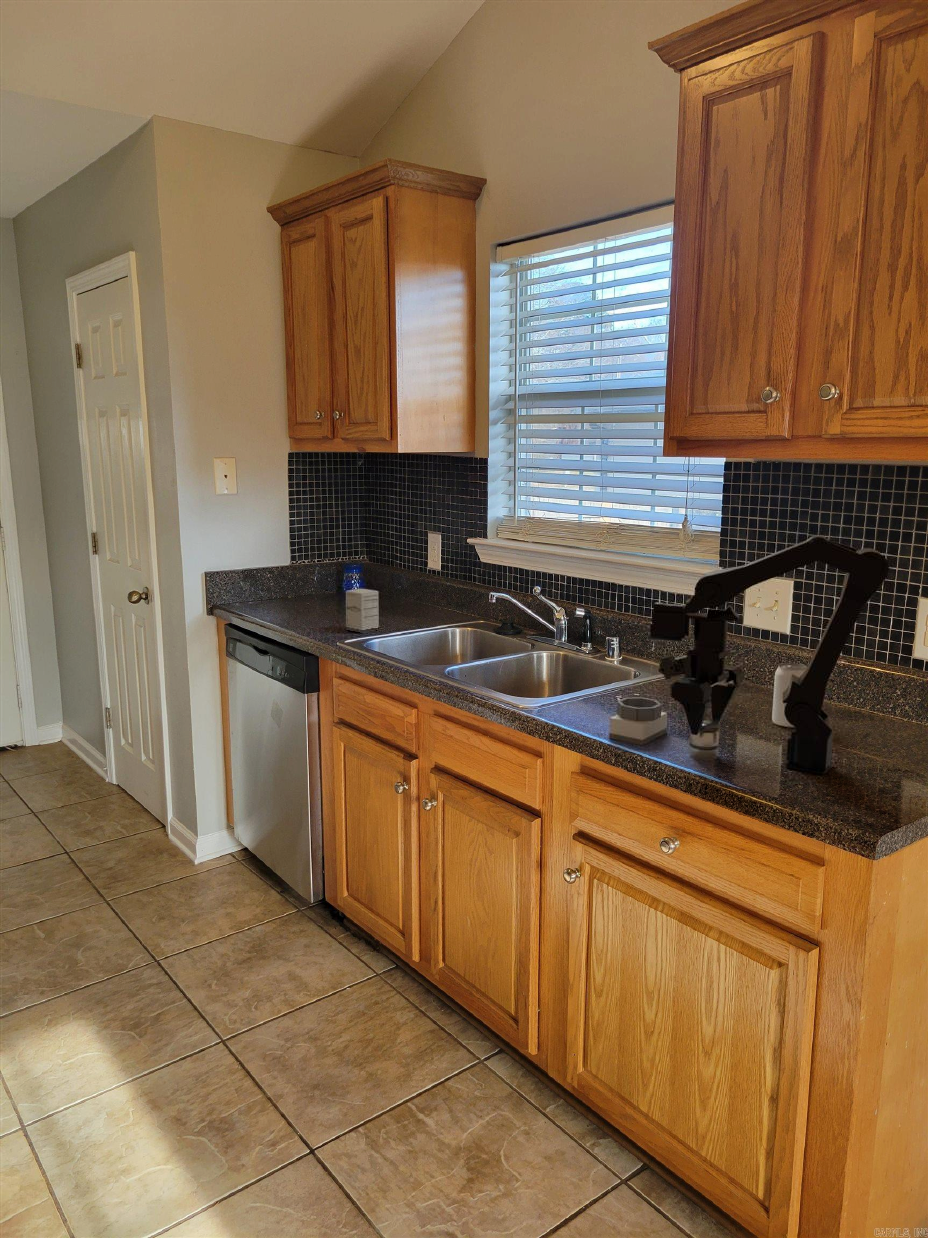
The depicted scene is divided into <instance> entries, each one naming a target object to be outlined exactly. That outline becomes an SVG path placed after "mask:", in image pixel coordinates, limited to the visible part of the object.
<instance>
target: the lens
mask: <svg viewBox="0 0 928 1238" xmlns="http://www.w3.org/2000/svg"><path fill="white" fill-rule="evenodd" d="M689 730H690V729H689ZM720 730H721V724H720V722H719V723H717V722H714V721H713V720H709V719H708V720H707V719H704V721H703V724H702V726H701V729H700V731H699V733H698V735H693V734H691V730H690V733H689V748H688V749H689V757H690V758H693V759H694V760H698V761H699V760H700V761H715V760H717V759H718V757H719V756H718V755H719V748H720V747H719V743H720V741H719V739H720V738H719V737H720Z"/></svg>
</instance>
